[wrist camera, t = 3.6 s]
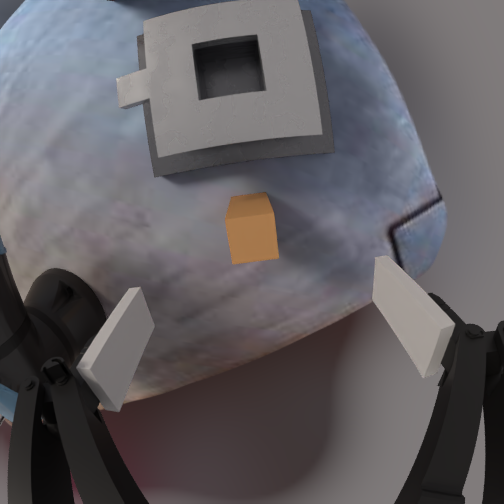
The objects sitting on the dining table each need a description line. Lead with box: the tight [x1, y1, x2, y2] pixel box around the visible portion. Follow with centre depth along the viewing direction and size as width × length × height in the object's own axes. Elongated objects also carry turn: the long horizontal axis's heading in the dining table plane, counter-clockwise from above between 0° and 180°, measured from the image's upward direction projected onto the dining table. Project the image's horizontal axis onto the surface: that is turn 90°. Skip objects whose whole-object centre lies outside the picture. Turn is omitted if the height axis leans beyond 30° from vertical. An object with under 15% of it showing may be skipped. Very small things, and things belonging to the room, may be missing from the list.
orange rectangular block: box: [225, 192, 279, 264], centre depth 27 cm, size 4×4×10 cm
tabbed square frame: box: [116, 0, 335, 178], centre depth 22 cm, size 18×20×8 cm
